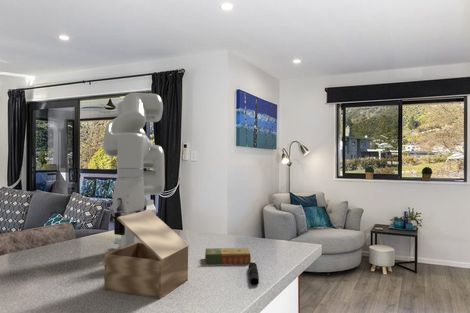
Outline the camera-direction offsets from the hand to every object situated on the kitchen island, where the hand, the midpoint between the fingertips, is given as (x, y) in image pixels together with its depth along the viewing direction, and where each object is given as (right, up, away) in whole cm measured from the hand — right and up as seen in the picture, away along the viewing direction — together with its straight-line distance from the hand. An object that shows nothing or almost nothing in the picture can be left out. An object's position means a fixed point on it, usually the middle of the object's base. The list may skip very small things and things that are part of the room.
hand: (129, 231), depth 111 cm
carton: (+29, -16, +24) cm, 40 cm away
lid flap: (+8, 0, -3) cm, 8 cm away
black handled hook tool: (+38, -16, +9) cm, 42 cm away
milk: (-1, -15, +21) cm, 26 cm away
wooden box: (+6, -15, -2) cm, 17 cm away
